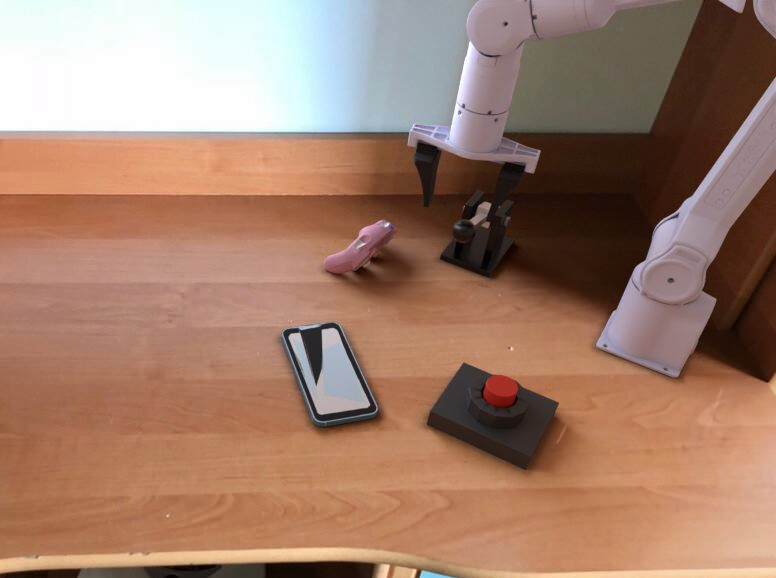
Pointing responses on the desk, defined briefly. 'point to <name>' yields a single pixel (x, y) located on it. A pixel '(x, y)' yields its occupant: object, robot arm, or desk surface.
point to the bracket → (482, 240)
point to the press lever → (472, 224)
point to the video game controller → (361, 248)
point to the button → (500, 391)
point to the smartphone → (328, 374)
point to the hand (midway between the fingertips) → (458, 210)
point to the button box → (492, 417)
